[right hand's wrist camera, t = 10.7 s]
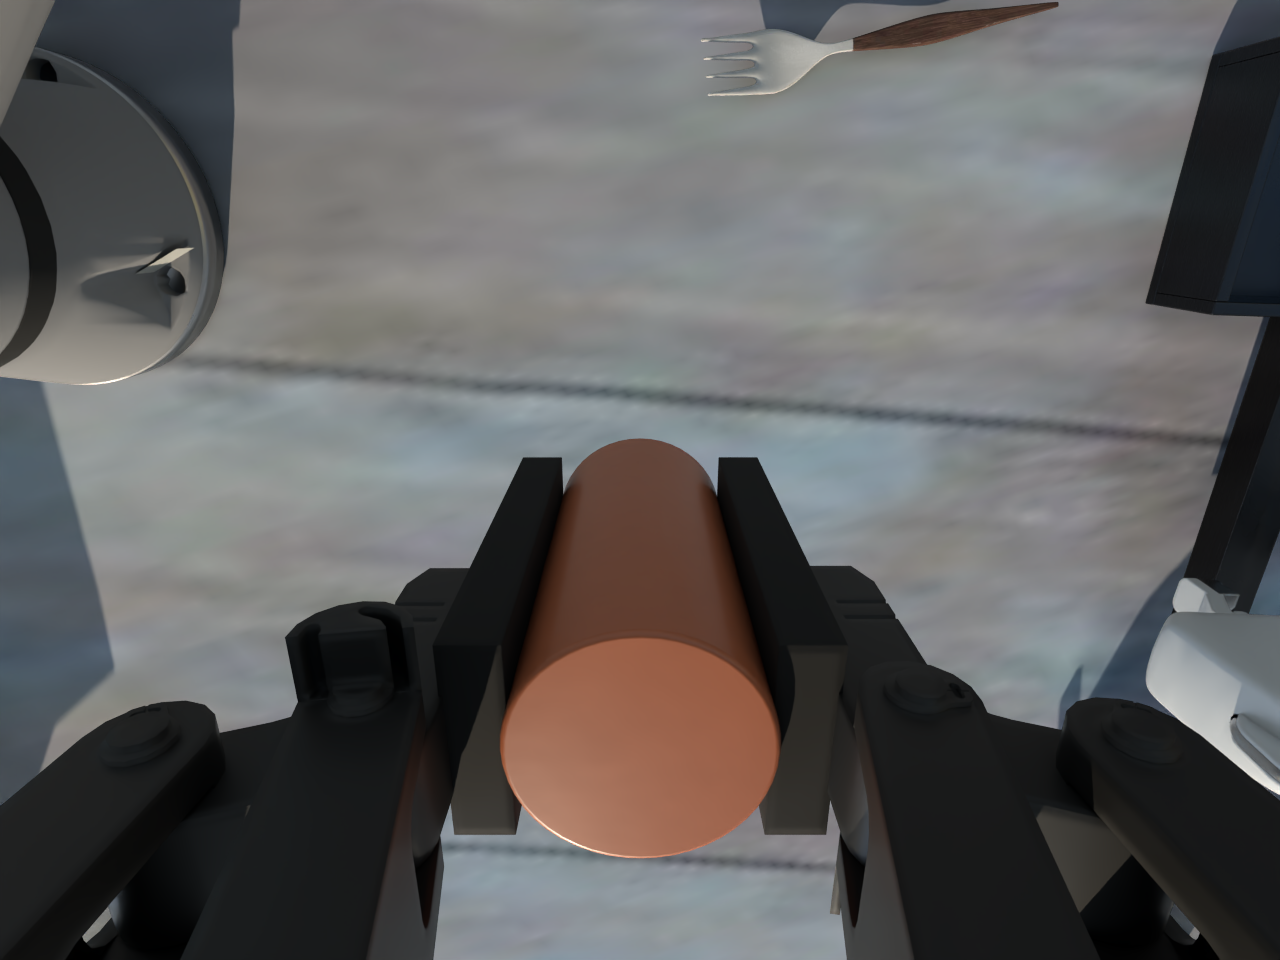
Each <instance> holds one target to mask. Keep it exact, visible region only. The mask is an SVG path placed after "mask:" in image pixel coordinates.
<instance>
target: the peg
mask: <svg viewBox="0 0 1280 960" xmlns="http://www.w3.org/2000/svg"><path fill="white" fill-rule="evenodd" d="M500 753H501V759H502V765H503V768H504V771H505V774H506V777H507V780H508V782H509V784H510V786H511V788H512V790H513V792H514V794H515V796H516V797H517V799H518V800H519V801H520V803H521V804H522V806H523V807H524V808H525V809H526V810H527V812H528V813H529V814H530V815H531V816H532V817H533V818H534V819H535V820H536V821H538V822H539V823H540V824H541V825H542V826H544V827H545V828H546V829H547V830H549V831H550V832H552V833H554V834H555V835H557V836H558V837H560V838H562V839H564V840H566V841H568V842H570V843H572V844H574V845H576V846H579V847H582V848H584V849H587V850H590V851H593V852H597V853H601V854H605V855H611V856H618V857H627V858H654V857H663V856H670V855H675V854H679V853H683V852H687V851H691V850H694V849H696V848H699V847H702V846H705V845H707V844H709V843H711V842H713V841H715V840H717V839H719V838H721V837H723V836H724V835H726V834H727V833H729V832H730V831H732V830H733V829H735V828H736V827H737V826H738V825H740V824H741V823H742V822H743V821H744V820H746V819H747V818H748V817H749V816H750V815H751V813H752V812H753V811H754V810H755V809H756V808H757V807H758V806H759V804H760V803H761V801H762V800H763V798H764V797H765V796H766V794H767V792H768V790H769V788H770V786H771V784H772V782H773V779H774V776H775V773H776V771H777V768H778V765H779V759H780V753H781V731H780V725H779V719H778V716H777V712H776V709H775V706H774V702H773V698H772V695H771V691H770V687H769V684H768V680H767V677H766V673H765V669H764V666H763V662H762V658H761V655H760V651H759V647H758V644H757V640H756V637H755V633H754V629H753V626H752V622H751V618H750V615H749V611H748V607H747V604H746V600H745V597H744V593H743V589H742V586H741V582H740V578H739V575H738V571H737V567H736V564H735V560H734V557H733V553H732V549H731V546H730V542H729V538H728V535H727V531H726V528H725V524H724V520H723V517H722V513H721V509H720V506H719V502H718V498H717V495H716V492H715V488H714V485H713V483H712V481H711V479H710V477H709V476H708V474H707V473H706V471H705V470H704V468H703V467H702V466H701V465H700V464H699V463H698V462H697V461H696V460H695V459H694V458H693V457H692V456H690V455H689V454H688V453H686V452H685V451H683V450H681V449H680V448H677V447H675V446H673V445H671V444H668V443H665V442H662V441H657V440H652V439H628V440H623V441H618V442H615V443H612V444H609V445H607V446H605V447H602V448H600V449H598V450H597V451H595V452H594V453H592V454H591V455H590V456H588V457H587V458H586V459H585V460H584V461H583V462H582V463H581V464H580V465H579V466H578V467H577V468H576V470H575V471H574V473H573V474H572V475H571V477H570V479H569V481H568V483H567V485H566V488H565V491H564V494H563V498H562V502H561V506H560V509H559V513H558V517H557V521H556V524H555V528H554V532H553V535H552V539H551V543H550V546H549V550H548V554H547V557H546V561H545V565H544V569H543V572H542V576H541V580H540V583H539V587H538V591H537V594H536V598H535V602H534V606H533V609H532V613H531V617H530V620H529V624H528V628H527V631H526V635H525V639H524V643H523V646H522V650H521V654H520V657H519V661H518V665H517V668H516V672H515V676H514V680H513V683H512V687H511V691H510V694H509V698H508V702H507V705H506V709H505V712H504V716H503V719H502V725H501V731H500Z"/></svg>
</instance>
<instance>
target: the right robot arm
mask: <svg viewBox="0 0 1280 960" xmlns="http://www.w3.org/2000/svg"><path fill="white" fill-rule="evenodd" d="M54 2H55V0H0V377H8V378H17V379H26V380H34V381H43V382H53V383H63V384H77V385H90V384H102V383H108V382H114V381H117V380H121V379H125V378H128V377H131V376H134V375H138V374H141V373H144V372H147V371H150V370H152V369H155V368H157V367H160V366H162V365H164V364H165V363H167V362H169V361H171V360H172V359H174V358H175V357H177V356H178V355H179V354H181V353H182V352H183V351H184V350H185V349H187V348H188V347H189V346H190V345H191V344H192V343H193V342H194V340H195V339H196V338H197V337H198V336H199V335H200V333H201V332H202V330H203V329H204V327H205V326H206V324H207V322H208V320H209V319H210V317H211V315H212V313H213V310H214V308H215V305H216V302H217V300H218V296H219V292H220V288H221V283H222V276H223V264H224V250H223V238H222V231H221V224H220V220H219V216H218V212H217V208H216V205H215V202H214V199H213V196H212V193H211V191H210V188H209V186H208V184H207V181H206V179H205V177H204V175H203V173H202V171H201V169H200V167H199V165H198V163H197V162H196V160H195V158H194V156H193V155H192V153H191V152H190V150H189V149H188V147H187V146H186V144H185V143H184V141H183V140H182V139H181V137H180V136H179V135H178V133H177V132H176V131H175V129H174V128H173V127H172V126H171V125H170V124H169V123H168V122H167V120H166V119H165V118H164V117H163V116H162V115H161V114H160V113H159V112H158V111H157V110H156V109H155V108H154V107H153V106H152V105H151V104H150V103H149V102H148V101H146V100H145V99H144V98H143V97H142V96H140V95H139V94H138V93H137V92H135V91H134V90H133V89H131V88H130V87H129V86H127V85H126V84H124V83H123V82H121V81H120V80H119V79H117V78H115V77H113V76H112V75H110V74H108V73H106V72H105V71H103V70H101V69H99V68H97V67H95V66H92V65H90V64H88V63H86V62H83V61H81V60H78V59H75V58H72V57H70V56H66V55H63V54H59V53H56V52H52V51H48V50H45V49H41V48H38V47H35V45H36V42H37V40H38V38H39V35H40V33H41V31H42V29H43V27H44V24H45V22H46V20H47V18H48V16H49V13H50V11H51V9H52V7H53V5H54ZM562 498H563V476H562V458H523V459H522V461H521V463H520V465H519V467H518V469H517V471H516V474H515V476H514V478H513V480H512V482H511V484H510V486H509V488H508V490H507V492H506V494H505V496H504V498H503V500H502V502H501V505H500V507H499V509H498V511H497V513H496V515H495V517H494V519H493V521H492V523H491V525H490V527H489V529H488V531H487V533H486V536H485V538H484V540H483V542H482V544H481V546H480V548H479V550H478V552H477V554H476V556H475V558H474V560H473V562H472V564H471V566H470V568H430V569H428V570H427V571H425V572H424V573H422V574H421V575H419V576H418V577H416V578H415V579H413V580H412V581H411V582H409V583H408V584H407V585H406V586H405V588H404V589H403V591H402V593H401V594H400V596H399V597H398V599H397V600H396V602H395V605H394V604H391V603H387V602H368V601H362V602H356V603H350V604H344V605H338V606H336V607H333V608H330V609H327V610H324V611H321V612H318V613H316V614H314V615H312V616H310V617H309V618H307V619H305V620H304V621H302V622H300V623H299V624H297V625H296V626H295V627H294V628H293V629H292V630H291V632H290V633H289V634H288V635H287V636H286V637H285V639H286V644H287V649H288V654H289V659H290V664H291V669H292V674H293V679H294V684H295V689H296V694H297V699H298V703H297V705H296V707H295V710H294V712H293V714H292V716H291V717H289V718H285V719H282V720H278V721H274V722H271V723H266V724H261V725H256V726H252V727H247V728H242V729H237V730H232V731H227V732H222V733H219V729H218V725H217V721H216V717H215V714H214V713H213V712H212V711H211V710H210V709H209V708H208V707H207V706H205V705H203V704H199V703H194V702H190V701H174V702H161V703H156V704H150V705H148V706H142V707H139V708H136V709H133V710H130V711H128V712H127V713H125V714H122V715H120V716H118V717H116V718H113V719H111V720H109V721H107V722H105V723H103V724H102V725H100V726H99V727H97V728H96V729H94V730H93V731H91V732H90V733H88V734H87V735H85V736H84V737H82V738H81V739H80V740H79V741H78V742H76V743H75V744H74V745H73V746H72V747H70V748H69V749H68V750H67V751H66V752H64V753H63V754H62V755H61V756H60V757H58V758H57V759H56V760H55V761H54V762H52V763H51V764H50V765H49V766H48V767H47V768H45V769H44V770H43V771H42V772H41V773H39V774H38V775H37V776H36V777H35V778H33V779H32V780H31V781H30V782H29V783H27V784H26V785H25V786H24V787H23V788H21V789H20V790H19V791H18V792H17V793H15V794H14V795H13V796H12V797H11V798H10V799H8V800H7V801H6V802H5V803H4V804H2V805H1V806H0V960H433V957H434V948H435V940H436V931H437V922H438V914H439V905H440V897H441V888H442V880H443V871H444V862H443V854H442V846H441V838H440V834H441V831H442V828H443V825H444V822H445V818H446V815H447V812H448V809H449V806H450V803H451V809H452V818H453V826H454V835H516V831H517V826H518V821H519V816H520V811H521V806H522V804H521V803H520V801H519V800H518V799H517V797H516V796H515V794H514V792H513V790H512V788H511V786H510V784H509V782H508V780H507V777H506V774H505V771H504V768H503V765H502V759H501V753H500V731H501V725H502V719H503V716H504V712H505V709H506V705H507V702H508V698H509V694H510V691H511V687H512V683H513V680H514V676H515V672H516V668H517V665H518V661H519V657H520V654H521V650H522V646H523V643H524V639H525V635H526V631H527V628H528V624H529V620H530V617H531V613H532V609H533V606H534V602H535V598H536V594H537V591H538V587H539V583H540V580H541V576H542V572H543V569H544V565H545V561H546V557H547V554H548V550H549V546H550V543H551V539H552V535H553V532H554V528H555V524H556V521H557V517H558V513H559V509H560V506H561V502H562ZM717 498H718V502H719V506H720V509H721V513H722V517H723V520H724V524H725V528H726V531H727V535H728V538H729V542H730V546H731V549H732V553H733V557H734V560H735V564H736V567H737V571H738V575H739V578H740V582H741V586H742V589H743V593H744V597H745V600H746V604H747V607H748V611H749V615H750V618H751V622H752V626H753V629H754V633H755V637H756V640H757V644H758V647H759V651H760V655H761V658H762V662H763V666H764V669H765V673H766V677H767V680H768V684H769V687H770V691H771V695H772V698H773V702H774V706H775V709H776V712H777V716H778V719H779V725H780V731H781V753H780V759H779V765H778V768H777V771H776V773H775V776H774V779H773V782H772V784H771V786H770V788H769V790H768V792H767V794H766V796H765V797H764V798H763V800H762V801H761V803H760V804H759V808H760V813H761V818H762V823H763V828H764V833H765V835H826V831H827V822H828V814H829V805H830V801H831V804H832V807H833V810H834V813H835V816H836V819H837V822H838V825H839V828H840V838H839V846H838V854H837V862H836V870H835V878H834V885H833V893H832V901H831V909H830V914H837V915H840V909H841V912H842V921H843V930H844V938H845V947H846V955H847V960H1280V801H1279V800H1278V799H1277V798H1276V797H1275V796H1273V795H1272V794H1271V793H1270V792H1269V791H1267V790H1266V789H1265V788H1264V787H1263V786H1261V785H1260V784H1259V783H1258V782H1257V781H1255V780H1254V779H1253V778H1252V777H1251V776H1249V775H1248V774H1247V773H1246V772H1245V771H1243V770H1242V769H1241V768H1240V767H1239V766H1237V765H1236V764H1235V763H1234V762H1233V761H1231V760H1230V759H1229V758H1228V757H1227V756H1225V755H1224V754H1223V753H1222V752H1221V751H1219V750H1218V749H1217V748H1216V747H1214V746H1213V745H1212V744H1211V743H1210V742H1208V741H1207V740H1206V739H1205V738H1204V737H1202V736H1201V735H1200V734H1199V733H1197V732H1196V731H1194V730H1193V729H1191V728H1190V727H1188V726H1186V725H1185V724H1183V723H1182V722H1180V721H1179V720H1177V719H1176V718H1174V717H1171V716H1169V715H1167V714H1164V713H1162V712H1160V711H1158V710H1155V709H1154V708H1152V707H1150V706H1147V705H1144V704H1140V703H1133V701H1128V700H1122V699H1111V698H1096V697H1095V698H1091V699H1086V700H1081V701H1077V702H1076V703H1075V704H1074V705H1073V706H1071V707H1070V708H1069V709H1068V710H1067V711H1066V715H1065V719H1064V723H1063V727H1062V730H1059V729H1054V728H1050V727H1045V726H1040V725H1035V724H1030V723H1025V722H1020V721H1015V720H1011V719H1007V718H1003V717H1000V716H996V715H992V714H990V713H987V711H986V708H985V706H984V704H983V702H982V700H981V699H980V698H979V696H978V695H977V694H976V693H975V691H974V690H973V689H972V687H971V686H969V685H968V684H966V683H965V682H963V681H962V680H961V679H959V678H958V677H956V676H955V675H953V674H951V673H949V672H946V671H944V670H941V669H939V668H936V667H934V666H931V665H927V664H926V662H925V661H924V659H923V657H922V656H921V654H920V653H919V651H918V650H917V648H916V647H915V645H914V643H913V642H912V640H911V639H910V637H909V636H908V634H907V632H906V631H905V629H904V628H903V626H902V625H901V623H900V622H899V620H898V619H896V618H895V614H894V612H893V611H892V609H891V607H890V606H889V604H888V603H886V600H885V598H884V597H883V595H882V593H881V592H880V590H879V589H878V587H877V586H876V584H875V582H874V581H872V580H871V579H869V578H868V577H866V576H865V575H864V574H862V573H861V572H859V571H858V570H856V569H855V568H853V567H852V566H810V565H809V563H808V561H807V559H806V557H805V555H804V553H803V551H802V549H801V547H800V545H799V543H798V541H797V538H796V536H795V534H794V532H793V530H792V528H791V526H790V524H789V522H788V520H787V518H786V516H785V514H784V512H783V510H782V508H781V505H780V503H779V501H778V499H777V497H776V495H775V493H774V491H773V489H772V487H771V485H770V483H769V481H768V479H767V477H766V474H765V472H764V470H763V468H762V466H761V464H760V462H759V460H758V458H757V457H719V464H718V489H717ZM1174 903H1175V904H1176V905H1177V907H1178V908H1179V909H1180V910H1181V911H1182V912H1183V914H1184V915H1185V916H1186V917H1187V918H1188V919H1189V920H1190V922H1191V923H1192V924H1193V925H1194V926H1195V927H1196V928H1197V930H1198V931H1199V932H1200V934H1199V937H1198V938H1197V940H1195V939H1193V938H1192V937H1191V936H1189V935H1188V934H1187V933H1186V932H1185V931H1184V930H1183V929H1182V928H1181V927H1180V926H1179V924H1178V923H1177V922H1176V921H1175V920H1174V919H1173V917H1172V916H1171V915H1170V913H1171V910H1172V907H1173V904H1174ZM107 907H108V908H109V911H110V914H111V916H112V918H111V919H110V920H109V921H108V922H107V923H106V925H105V926H104V927H103V928H102V929H101V931H100V932H98V933H97V934H96V935H95V936H94V937H93V938H91V939H90V940H89V941H88V942H87V943H86V942H85V941H84V940H83V938H82V936H83V935H84V934H85V932H86V931H87V930H88V929H89V928H90V927H91V925H92V924H93V923H94V922H95V921H96V920H97V919H98V917H99V916H100V915H101V914H102V913H103V912H104V910H105V909H106V908H107Z"/></svg>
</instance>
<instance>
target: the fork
mask: <svg viewBox="0 0 1280 960" xmlns="http://www.w3.org/2000/svg"><path fill="white" fill-rule="evenodd" d="M1056 7H1058V2H1051V3H1040V4H1031V5H1022V6H1012V7H1002V8H992V9H980V10H966V11H954V12H945V13H937V14H932V15H927V16H923V17H919V18H916V19H912V20H909V21H905V22H902V23H899V24H896V25H893V26H890V27H886V28H883V29H880V30H877V31H874V32H871V33H868V34H865V35H862V36H859V37H855V38H852V39H849V40H846V41H842V42H838V43H831V44H826V43H820V42H817V41H814V40H811V39H808V38H806V37H803V36H801V35H798V34H796V33H793V32H789V31H786V30H780V29H765V30H760V31H755V32H750V33H744V34H737V35H729V36H722V37H714V38H703V39H701V41H702V42H705V41H706V42H745V43H751V44H752V45H753V48H752V49H751V50H748V51H744V52H738V53H731V54H724V55H718V56H711V57H705V58H704V59H705V60H750V61H753V62H754V63H755V65H754V66H753V67H752V68H749V69H744V70H738V71H731V72H725V73H720V74H714V75H708V76H706V77H707V78H754V79H756V84H754V85H752V86H748V87H742V88H736V89H731V90H725V91H720V92H714V93H708V96H711V95H753V94H772V93H777V92H780V91H783V90H785V89H786V88H788V87H790V86H791V85H793V84H794V83H795V82H797V81H798V80H799V79H800V78H801V77H803V76H804V75H805V74H806V73H807V72H808V71H809V70H810V69H811V68H812V67H813V66H814V65H816V64H817V63H818V62H819V61H820V60H822V59H823V58H825V57H827V56H829V55H831V54H834V53H839V52H847V51H861V50H878V49H893V48H906V47H915V46H922V45H928V44H933V43H937V42H941V41H944V40H948V39H951V38H954V37H958V36H961V35H964V34H967V33H970V32H973V31H976V30H980V29H983V28H986V27H989V26H993V25H996V24H999V23H1003V22H1006V21H1010V20H1013V19H1017V18H1020V17H1024V16H1028V15H1031V14H1035V13H1038V12H1042V11H1046V10H1049V9H1052V8H1056Z"/></svg>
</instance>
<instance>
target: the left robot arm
mask: <svg viewBox="0 0 1280 960" xmlns="http://www.w3.org/2000/svg"><path fill="white" fill-rule="evenodd" d="M1239 596H1240V595H1239V594H1238V593H1236V592H1235V591H1233V590H1232V589H1231V588H1229V587H1226V586H1224V585H1222V582H1220V581H1219V580H1213V579H1196V578H1183V579H1181V580H1180V581H1179V584H1178V586H1177V589H1176V592H1175V595H1174V598H1173V606H1174V609H1175V610H1176V611H1177V613H1173V614H1171V615H1170V616H1169V617H1168V618H1167V620H1166V621H1165V623H1164V625H1163V627H1162V629H1161V631H1160V633H1159V635H1158V637H1157V639H1156V642H1155V644H1154V647H1153V649H1152V652H1151V656H1150V659H1149V663H1148V667H1147V672H1146V684H1147V687H1148V690H1149V691H1150V693H1151V694H1152V695H1153V696H1154V697H1155V698H1156V699H1157V700H1158V701H1159V702H1160V703H1161V704H1162V705H1163V706H1164V707H1165V708H1166V709H1168V710H1169V711H1170V712H1171V713H1172V714H1173V715H1174V716H1175V717H1177V718H1178V719H1179V720H1180V721H1181V722H1182V723H1183V724H1185V725H1186V726H1188V727H1190V728H1191V729H1193V730H1194V731H1196V732H1197V733H1199V734H1200V735H1201V736H1202V737H1204V738H1205V739H1206V740H1207V741H1208V742H1210V743H1211V744H1212V745H1213V746H1214V747H1216V748H1217V749H1218V750H1219V751H1221V752H1222V753H1223V754H1224V755H1225V756H1227V757H1228V758H1229V759H1230V760H1231V761H1233V762H1234V763H1235V764H1236V765H1237V766H1239V767H1240V768H1241V769H1242V770H1243V771H1245V772H1246V773H1247V774H1248V775H1249V776H1251V777H1252V778H1253V779H1254V780H1256V781H1257V782H1259V783H1260V784H1262V785H1263V786H1265V787H1267V788H1268V789H1270V790H1272V791H1274V792H1275V793H1277V794H1279V795H1280V616H1279V615H1254V614H1248V613H1246V612H1242V611H1234V612H1232V611H1231V610H1232V609H1234V608H1235V606H1236V603H1237V601H1238V598H1239Z"/></svg>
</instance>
